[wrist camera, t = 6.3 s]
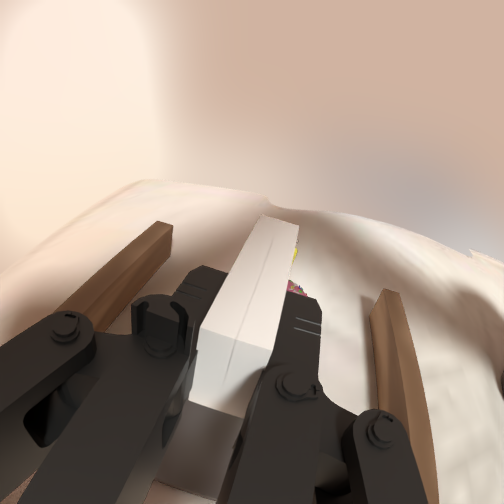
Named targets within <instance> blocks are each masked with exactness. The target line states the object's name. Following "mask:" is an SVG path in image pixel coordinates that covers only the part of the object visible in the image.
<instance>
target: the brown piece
mask: <svg viewBox="0 0 504 504" xmlns="http://www.w3.org/2000/svg"><path fill="white" fill-rule="evenodd" d="M172 232H173V225H170V224H167V223H164V222H160V221H156V222H155V223H154V224H153V225H151V226H150V227H149V228H148V229H147V230H145V231H144V232H143V233H142V234H141V235H139V236H138V237H137V238H136V239H135V240H133V241H132V242H131V243H130V244H129V245H127V246H126V247H125V248H124V249H123V250H122V251H120V252H119V253H118V254H117V255H116V256H115V257H114V258H112V259H111V260H110V261H109V262H108V263H107V264H106V265H104V266H103V267H102V268H101V269H100V270H99V271H98V272H97V273H95V274H94V275H93V276H92V277H91V278H90V279H89V280H88V281H87V282H85V283H84V284H83V285H82V286H81V287H80V288H79V289H78V290H77V291H76V292H75V293H74V294H72V295H71V296H70V297H69V298H68V299H67V300H66V301H65V302H64V303H63V304H62V305H61V306H60V307H59V308H58V309H57V310H56V311H55V312H54V313H56V312H58V311H67V310H70V311H75V312H79V313H81V314H83V315H85V316H87V317H88V319H89V320H90V321H91V322H92V324H93V328H94V331H97V332H103V333H104V332H105V330H106V329H107V328H108V327H109V326H110V324H111V323H112V322H113V321H114V320H115V318H116V317H117V316H118V315H119V314H120V312H121V311H122V310H123V309H124V308H125V307H126V305H127V304H128V303H129V302H130V301H131V300H132V298H133V297H134V296H135V295H136V294H137V293H138V292H139V290H140V289H141V288H142V287H143V286H144V285H145V284H146V282H147V281H148V280H149V279H150V278H151V277H152V276H153V274H154V273H155V272H156V271H157V270H158V269H159V268H160V267H161V266H162V264H163V263H164V262H165V261H166V260H167V259H168V258H169V257H170V251H171V242H172ZM369 319H370V326H371V334H372V342H373V350H374V359H375V369H376V380H377V392H378V406H379V410H384V411H386V412H388V413H390V414H392V415H394V416H395V417H396V418H397V419H398V420H399V421H400V422H401V423H402V424H403V426H404V428H405V430H406V432H407V435H408V438H409V441H410V444H411V447H412V450H413V453H414V456H415V459H416V463H417V466H418V469H419V472H420V476H421V479H422V482H423V486H424V489H425V493H426V496H427V500H428V504H439V493H438V481H437V471H436V462H435V454H434V446H433V439H432V432H431V426H430V420H429V414H428V409H427V403H426V398H425V393H424V388H423V383H422V378H421V374H420V369H419V365H418V361H417V357H416V352H415V348H414V344H413V340H412V337H411V333H410V329H409V325H408V322H407V318H406V315H405V311H404V308H403V304H402V301H401V298H400V294H399V293H397V292H394V291H391V290H387V289H384V288H383V290H382V292H381V294H380V296H379V298H378V300H377V302H376V304H375V306H374V308H373V310H372V312H371V314H370V315H369ZM188 399H189V395H188V397H187V400H186V402H185V404H184V406H183V412H182V417H181V420H180V422H179V424H178V427H177V429H176V431H175V433H174V436H173V438H172V440H171V442H170V444H169V447H168V449H167V451H166V453H165V456H164V458H163V460H162V462H161V464H160V467H159V469H158V471H157V473H156V476H155V478H154V480H156V481H159V482H161V483H164V484H166V485H169V486H172V487H174V488H177V489H180V490H183V491H186V492H189V493H192V494H195V495H198V496H201V497H204V498H207V499H211V500H214V501H217V499H218V496H219V493H220V490H221V487H222V484H223V481H224V477H225V474H226V471H227V468H228V465H229V462H230V458H231V455H232V452H233V449H232V447H233V445H234V443H235V440H236V438H237V436H238V434H239V432H240V429H241V427H242V424H243V421H244V418H240V417H237V416H234V415H230V414H227V413H224V412H221V411H218V410H215V409H212V408H209V407H206V406H203V405H200V404H198V403H195V402H192V401H189V400H188Z"/></svg>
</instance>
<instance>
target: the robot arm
mask: <svg viewBox="0 0 504 504" xmlns="http://www.w3.org/2000/svg"><path fill="white" fill-rule="evenodd" d="M298 231H299V225H295V224H292V223H289V222H286V221H282V220H279V219H276V218H272V217H269V216H266V215H262V214H261V215H260V217H259V218H258V220H257V222H256V224H255V226H254V228H253V230H252V231H251V233H250V235H249V237H248V239H247V241H246V242H245V244H244V246H243V248H242V250H241V252H240V254H239V255H238V257H237V259H236V261H235V263H234V265H233V266H232V268H231V270H230V272H229V274H228V273H225V272H222V271H219V270H216V269H213V268H210V267H207V266H203V265H202V266H200V267H198V268H196V269H194V270H192V271H190V272H189V273H188V275H187V276H186V277H185V279H184V280H183V282H182V284H180V286H179V287H178V288H177V290H176V292H174V294H173V295H172V296H168V295H163V294H158V295H148V296H145V297H141V298H139V299H138V300H136V301H135V302H134V303H132V304H131V321H132V334H129V335H116V334H109V333H103V332H97V331H94V328H93V324H92V322H91V321H90V320H89V319H88V317H87V316H85V315H83V314H81V313H79V312H75V311H70V310H67V311H58V312H56V313H53V314H51V315H49V316H47V317H45V318H44V319H42V320H41V321H39V322H38V323H36V324H34V325H33V326H31V327H30V328H28V329H27V330H25V331H23V332H22V333H20V334H19V335H17V336H16V337H14V338H13V339H11V340H10V341H8V342H7V343H5V344H4V345H2V346H1V347H0V502H1V501H2V500H3V499H4V498H6V497H7V496H8V495H9V494H10V493H11V492H12V491H14V490H15V489H16V488H17V487H18V486H19V485H20V484H22V483H23V482H24V481H25V480H26V479H27V478H28V477H29V476H31V475H32V474H33V473H34V472H35V471H36V470H37V469H38V468H39V469H38V470H37V472H36V473H35V475H34V477H33V478H32V480H31V481H30V483H29V485H28V486H27V488H26V489H25V491H24V493H23V494H22V496H21V498H20V499H19V501H18V503H17V504H143V502H144V500H145V498H146V496H147V493H148V491H149V489H150V487H151V485H152V482H153V480H154V478H155V476H156V473H157V471H158V469H159V467H160V464H161V462H162V460H163V458H164V456H165V453H166V451H167V449H168V447H169V444H170V442H171V440H172V438H173V436H174V433H175V431H176V429H177V427H178V424H179V422H180V420H181V417H182V412H183V406H184V404H185V402H186V400H187V397H188V395H189V399H188V400H189V401H192V402H195V403H198V404H200V405H203V406H206V407H209V408H212V409H215V410H218V411H221V412H224V413H227V414H230V415H234V416H237V417H240V418H244V421H243V424H242V427H241V429H240V432H239V434H238V436H237V438H236V440H235V443H234V445H233V447H232V449H233V452H232V455H231V458H230V462H229V465H228V468H227V471H226V474H225V477H224V481H223V484H222V487H221V490H220V493H219V496H218V499H217V502H216V504H428V500H427V496H426V493H425V489H424V486H423V482H422V479H421V476H420V472H419V469H418V466H417V463H416V459H415V456H414V453H413V450H412V447H411V444H410V441H409V438H408V435H407V432H406V430H405V428H404V426H403V424H402V423H401V422H400V421H399V420H398V419H397V418H396V417H395V416H394V415H392V414H390V413H388V412H386V411H384V410H378V409H371V410H367V411H364V412H363V413H361V414H360V415H359V416H357V415H355V414H353V413H351V412H349V411H347V410H345V409H343V408H342V407H340V406H338V405H337V404H335V403H334V402H332V401H331V400H330V399H329V398H328V397H327V396H326V395H325V394H324V392H323V387H322V385H321V384H320V382H319V380H318V368H319V354H320V339H321V336H320V335H321V322H322V311H321V309H320V307H319V304H318V302H317V300H316V299H313V298H310V297H307V296H303V295H300V294H297V293H293V292H290V291H287V290H286V289H287V285H288V280H289V275H290V271H291V266H292V261H293V256H294V251H295V246H296V241H297V236H298ZM502 387H503V392H504V372H503V375H502Z"/></svg>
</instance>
